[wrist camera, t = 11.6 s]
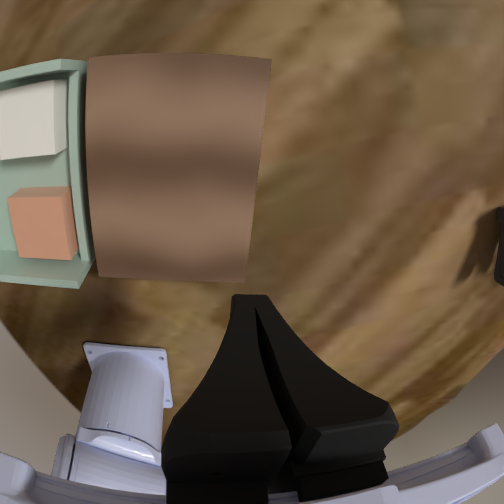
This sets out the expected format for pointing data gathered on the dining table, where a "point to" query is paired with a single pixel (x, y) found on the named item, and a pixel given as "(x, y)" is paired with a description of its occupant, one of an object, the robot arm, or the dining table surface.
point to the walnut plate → (174, 163)
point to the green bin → (49, 181)
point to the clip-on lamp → (500, 250)
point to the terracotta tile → (44, 222)
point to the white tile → (34, 119)
